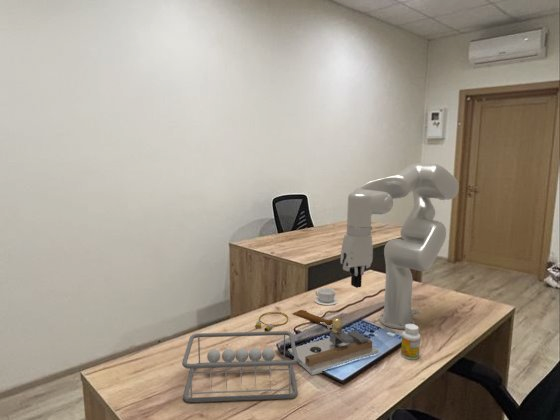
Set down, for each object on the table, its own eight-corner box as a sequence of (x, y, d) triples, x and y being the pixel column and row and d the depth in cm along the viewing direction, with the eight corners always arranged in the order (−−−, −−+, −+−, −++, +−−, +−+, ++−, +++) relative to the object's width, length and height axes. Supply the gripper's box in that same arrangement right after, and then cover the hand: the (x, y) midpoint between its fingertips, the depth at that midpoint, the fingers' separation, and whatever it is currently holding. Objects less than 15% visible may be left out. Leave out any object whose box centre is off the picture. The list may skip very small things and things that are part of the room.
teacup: (341, 300, 172) (342, 289, 171) (332, 307, 164) (332, 297, 163) (320, 295, 177) (320, 285, 176) (310, 302, 169) (310, 292, 168)
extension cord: (243, 323, 150) (243, 318, 149) (275, 311, 160) (275, 307, 160) (264, 334, 141) (264, 329, 140) (296, 322, 151) (296, 317, 151)
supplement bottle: (398, 351, 129) (400, 322, 127) (414, 350, 129) (416, 322, 128) (404, 360, 124) (406, 330, 122) (421, 359, 124) (423, 330, 123)
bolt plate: (350, 336, 139) (351, 323, 138) (378, 354, 127) (379, 341, 126) (287, 353, 127) (288, 340, 126) (312, 375, 115) (312, 360, 114)
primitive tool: (291, 314, 157) (291, 306, 157) (301, 311, 161) (301, 302, 160) (328, 331, 143) (329, 322, 143) (338, 327, 147) (338, 318, 146)
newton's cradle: (191, 365, 120) (181, 403, 102) (190, 332, 118) (180, 365, 100) (291, 362, 122) (298, 398, 104) (292, 330, 120) (299, 361, 103)
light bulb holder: (337, 340, 132) (338, 316, 131) (352, 351, 125) (353, 325, 124) (329, 342, 131) (330, 317, 130) (344, 353, 124) (345, 327, 123)
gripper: (368, 227, 135) (366, 279, 138) (332, 230, 128) (330, 286, 130) (384, 231, 128) (381, 286, 131) (347, 235, 121) (344, 293, 124)
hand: (356, 286), depth 131 cm, fingers closed
